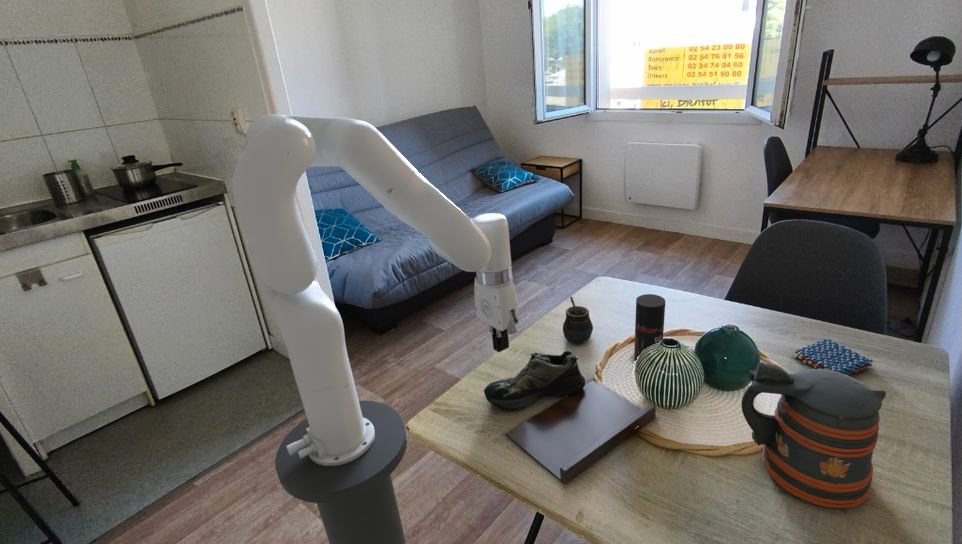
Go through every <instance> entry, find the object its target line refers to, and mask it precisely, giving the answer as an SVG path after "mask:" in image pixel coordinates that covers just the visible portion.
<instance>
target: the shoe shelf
mask: <svg viewBox="0 0 962 544" xmlns="http://www.w3.org/2000/svg"><path fill="white" fill-rule="evenodd" d="M656 410H657V405H655V404H653V403H651V402H650V403H649V404H647V405H646V406H644V407H643V408H641V407H639V406H637V405H635V404H634V403H632V402H630V401H628V400H627V399H625V398H623V397H622V396H620V395H619V394H616V393H614V392H613V391H611V390H610V389H608V388H606V387H604V386H603V385H601V384H600V383H598V382H596V381H594V380H590V381H588V382H587V383H585V386H584V387H583V388H582V390H580V391H579V392H578V393H576V394H573V395H567V396H563V398H561V399H559V400H558V401H556V402H555V403H553V404H551V405H550V406H548V407H546V408H544V409H543V410H541V411H540V412H538V413H537V414H534V415H533V416H531V417H530V418H528V419H527V420H525V421H523V422H522V423H520V424H519V425H517V426H515V427H514V428H512V429H510V430H509V431H507V432H506V433H505V436H506V437H507V438H508V439H510V440H511V441H512V442H513V443H514V444H516V445H517V446H518V447H520V448H521V449H522V450H523V451H524V452H525V453H527V454H528V455H529V456H530V457H531V458H533V459H534V460H535V461H536V462H537V463H538V464H540V465H541V466H542V467H543V468H544V469H546V470H547V471H548V472H549V473H550V474H552V475H553V476H554V477H556V479H558V480H559V481H560V482H562V484H564V485H565V486H566V485H567V484H569V483H570V482H572V480H574V479H575V478H577V477H578V476H579V475H581V474H582V473H583V472H585V471H586V470H588V469H589V468H590V467H592V466H593V465H595V463H597V462H598V461H599V460H601V459H602V458H604V457H605V456H606V455H608V454H609V453H611V452H612V451H613V450H615V449H616V448H617V447H619V446H620V445H621V444H623V443H624V442H625V441H627V440H628V439H630V438H631V437H632V436H634V435H635V434H636V433H638V432H639V431H640V430H642V429H643V428H645V427H646V426H647V425H648V424H649V423H651V422H652V421H654V420H655V419H656V412H657V411H656ZM637 426H639V427H637ZM636 427H637V428H636ZM635 428H636V429H635Z"/></svg>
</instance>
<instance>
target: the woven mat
mask: <svg viewBox="0 0 962 544" xmlns="http://www.w3.org/2000/svg"><path fill="white" fill-rule="evenodd" d="M794 353H795V355H793V358H794V359H796V358H798V359H800V360H802V363H803V364H808V365H811V366H813V369H824V370H831V371H835V372H839V373H842V374H845V375H848V376H850V375H851V374H855V373H857V372H860V371H861V370H864V369H866V368H868V367H872V366H873V362H874V360H872V359H869V358H868V357H867V355H862V354H860V353H859V351H857V352H855V351H853V349H850V348H848V347H846V346H845V345H842V344H839V342H835V341H833V340H831V339H830V338H826V339H823V340H821V341H817V342H815V343H812V344H810V345H807V346H804V347H802V348H798V349H796V350H795V351H794Z"/></svg>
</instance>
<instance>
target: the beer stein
mask: <svg viewBox="0 0 962 544" xmlns="http://www.w3.org/2000/svg"><path fill="white" fill-rule="evenodd" d="M747 377H748V379H749V380H750V381H751V384H750V385H749V386H748V387H747V388H746V389H745V391H744V393H743V395H742V397H741V412H742V415H743V417H744V420H745V421H746V423H747V425H748V427H750V429H751V430H752V431H751V439H752V440H753V442H754V443H756V445H757V446H758V447H759V446H763V449H762V452H761V458H762V459H761V460H762V461H763V465H764V467H765V469H766V472H767V473H768V475H769V477H771V479H772V480H773V481H774V482H775V483H776V484H778V485H779V486H780V487H781V488H782V489H783V490H784V491H786V492H787V493H788V494H790V495H791V496H794V497H796V498H798V499H799V500H802V501H804V502H807V503H810V504H813V505H816V506H821V507H825V508H829V509H839V510H840V509H850V508H853V507H854V508H855V507H857V506H859V505H862V503H864V502H865V501H866V500H867V498H868V497H869V495H870V492H871V484H872V481H873V475H874V474H873V473H874V465H873V455H874V453H873V452H874V449H875V448H876V446H877V444H878V439H879V431H880V420H881V419H880V418H881V416H880V410H881V408H882V405H883V400H884V399H885V398H886V396H887V391H886V390H884V389H874V388H872V387H871V386H869V385H868V384H866V383H864V382H862V381H861V380H859V379H856V378H854V377H852V376H850V375H845V374H842V373H839V372H835V371H831V370H824V369H819V368H807V369H803V370H799V371H796V372H794V373H788V371H786V370H785V369H783V368H782V367H780V366H779V365H775V364H772V363H766V362H763V361H760V362H758V364H757V366H756V370H749V371H748V375H747ZM763 393H764V394H773V395H780V397H779V399H778V401H777V404H776V408H775V410H774V415H773V414H766V413H763V412H760V411H759V410H757V409H756V408H755V405H754V402H755V399H756V397H757V396H758V395H760V394H763Z"/></svg>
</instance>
